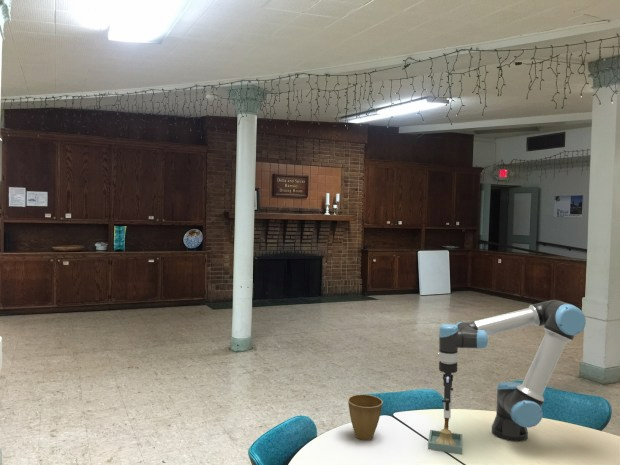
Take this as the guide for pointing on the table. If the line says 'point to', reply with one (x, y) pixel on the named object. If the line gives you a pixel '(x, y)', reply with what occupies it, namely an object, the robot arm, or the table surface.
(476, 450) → the table surface
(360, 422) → the plant pot
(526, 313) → the robot arm
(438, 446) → the tray
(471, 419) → the table surface
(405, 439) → the table surface
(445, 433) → the hand bell
